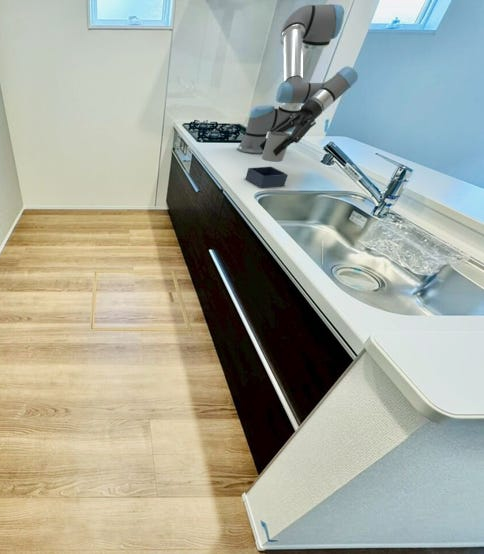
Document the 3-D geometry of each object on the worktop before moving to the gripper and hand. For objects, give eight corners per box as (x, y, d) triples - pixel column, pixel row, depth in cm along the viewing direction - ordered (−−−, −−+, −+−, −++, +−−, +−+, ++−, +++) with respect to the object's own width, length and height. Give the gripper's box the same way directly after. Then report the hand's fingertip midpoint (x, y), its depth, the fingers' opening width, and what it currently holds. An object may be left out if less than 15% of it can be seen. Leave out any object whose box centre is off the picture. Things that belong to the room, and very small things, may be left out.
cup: (284, 162, 124) (293, 136, 118) (263, 161, 126) (271, 135, 119) (279, 156, 131) (287, 132, 125) (260, 155, 132) (267, 131, 126)
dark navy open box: (245, 179, 137) (248, 168, 134) (267, 177, 139) (271, 166, 136) (260, 188, 128) (263, 176, 125) (284, 185, 130) (288, 174, 127)
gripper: (339, 117, 112) (287, 163, 119) (300, 109, 129) (256, 150, 136) (334, 101, 108) (280, 150, 115) (294, 95, 125) (249, 138, 132)
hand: (267, 150), depth 125 cm, fingers closed on cup, 8 cm apart
